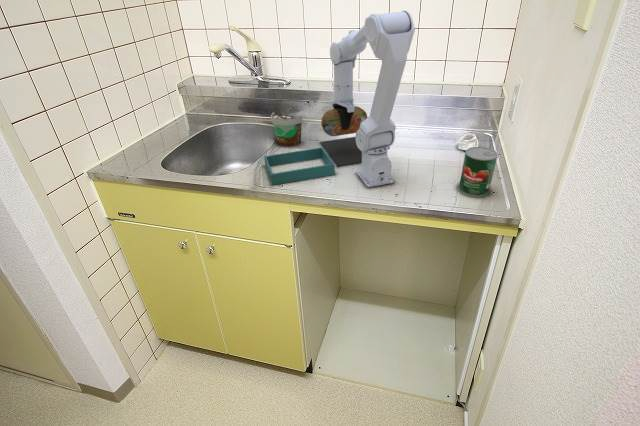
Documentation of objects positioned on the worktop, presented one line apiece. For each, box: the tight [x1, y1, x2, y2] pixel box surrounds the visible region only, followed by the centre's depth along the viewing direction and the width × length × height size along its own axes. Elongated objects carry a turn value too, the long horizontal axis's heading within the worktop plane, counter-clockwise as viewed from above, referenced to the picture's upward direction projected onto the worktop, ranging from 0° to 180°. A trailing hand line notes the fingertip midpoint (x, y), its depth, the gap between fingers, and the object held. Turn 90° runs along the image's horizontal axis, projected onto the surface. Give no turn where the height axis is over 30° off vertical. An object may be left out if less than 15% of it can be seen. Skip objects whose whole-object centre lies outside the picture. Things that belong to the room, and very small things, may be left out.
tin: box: [320, 105, 368, 137], centre depth 121 cm, size 15×3×8 cm, turn 106°
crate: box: [264, 146, 336, 186], centre depth 117 cm, size 13×19×4 cm
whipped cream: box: [457, 133, 480, 151], centre depth 125 cm, size 8×7×5 cm
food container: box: [270, 111, 304, 147], centre depth 133 cm, size 12×6×10 cm, turn 62°
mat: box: [320, 136, 362, 168], centre depth 129 cm, size 20×16×1 cm
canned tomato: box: [458, 146, 499, 198], centre depth 101 cm, size 8×8×11 cm
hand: (343, 127), depth 123 cm, fingers closed on tin, 2 cm apart
